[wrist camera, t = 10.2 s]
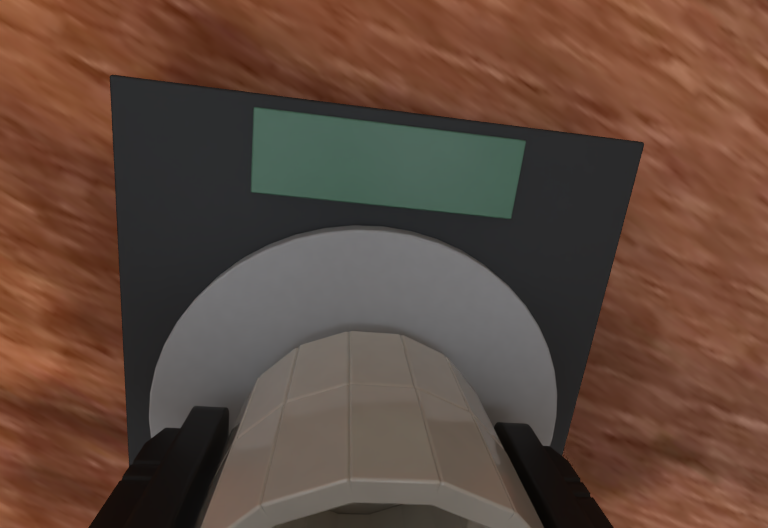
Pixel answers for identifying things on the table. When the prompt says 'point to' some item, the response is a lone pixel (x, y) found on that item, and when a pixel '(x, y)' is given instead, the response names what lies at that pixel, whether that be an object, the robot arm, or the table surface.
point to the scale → (355, 245)
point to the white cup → (364, 445)
